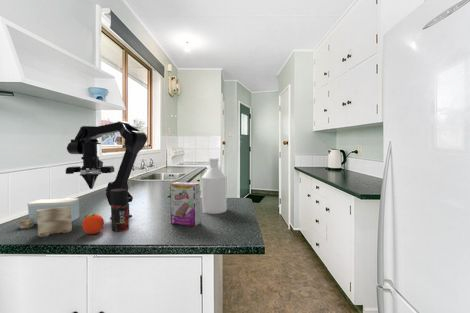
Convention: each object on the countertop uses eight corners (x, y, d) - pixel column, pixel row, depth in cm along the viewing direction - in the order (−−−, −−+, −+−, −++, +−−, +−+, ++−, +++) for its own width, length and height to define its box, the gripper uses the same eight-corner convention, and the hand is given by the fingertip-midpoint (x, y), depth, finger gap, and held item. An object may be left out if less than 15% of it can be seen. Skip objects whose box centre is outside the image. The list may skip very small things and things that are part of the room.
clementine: (75, 235, 90) (74, 215, 89) (92, 228, 96) (92, 210, 96) (92, 237, 87) (91, 217, 86) (108, 231, 93) (108, 212, 93)
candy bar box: (170, 224, 101) (169, 183, 100) (176, 220, 105) (176, 181, 104) (195, 227, 97) (194, 184, 96) (201, 223, 102) (200, 182, 101)
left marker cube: (33, 225, 101) (33, 218, 100) (28, 227, 98) (28, 220, 97) (25, 225, 100) (25, 218, 100) (20, 228, 97) (19, 220, 97)
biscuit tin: (79, 217, 111) (78, 198, 111) (70, 222, 104) (69, 202, 104) (40, 219, 110) (39, 199, 109) (28, 224, 103) (27, 203, 102)
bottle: (214, 215, 112) (213, 159, 111) (196, 210, 120) (195, 158, 119) (232, 209, 121) (231, 158, 120) (214, 206, 129) (214, 157, 128)
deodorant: (118, 233, 91) (116, 191, 90) (108, 230, 94) (106, 190, 94) (132, 228, 96) (131, 189, 95) (122, 225, 99) (121, 187, 99)
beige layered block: (71, 227, 97) (70, 204, 97) (72, 231, 93) (71, 207, 93) (38, 233, 91) (37, 209, 91) (38, 237, 87) (36, 212, 87)
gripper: (118, 153, 122) (119, 185, 123) (77, 153, 120) (78, 186, 121) (109, 154, 111) (110, 189, 112) (64, 155, 109) (65, 190, 110)
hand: (91, 188), depth 114 cm, fingers closed
